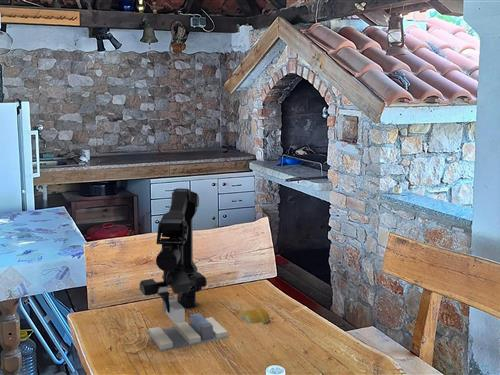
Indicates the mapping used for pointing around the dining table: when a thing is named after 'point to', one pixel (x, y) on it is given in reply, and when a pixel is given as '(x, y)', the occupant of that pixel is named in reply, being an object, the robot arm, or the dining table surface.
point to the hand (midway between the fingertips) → (173, 311)
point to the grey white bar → (175, 311)
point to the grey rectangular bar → (201, 326)
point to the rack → (183, 335)
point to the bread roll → (255, 316)
